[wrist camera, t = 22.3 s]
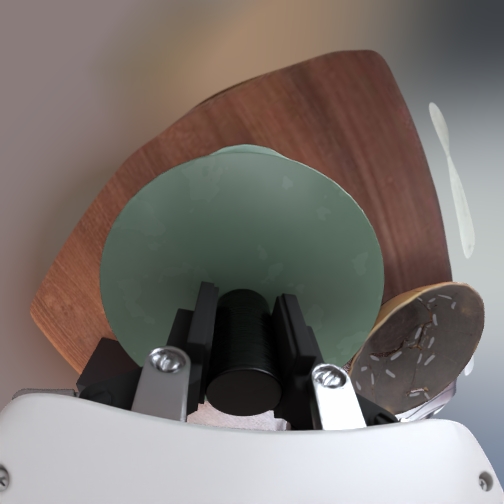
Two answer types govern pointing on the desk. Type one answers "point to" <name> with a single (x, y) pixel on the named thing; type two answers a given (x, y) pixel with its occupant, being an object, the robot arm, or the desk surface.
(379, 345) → the bowl
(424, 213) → the desk surface
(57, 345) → the desk surface
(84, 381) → the stand
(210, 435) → the robot arm
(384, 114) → the desk surface
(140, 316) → the lid
